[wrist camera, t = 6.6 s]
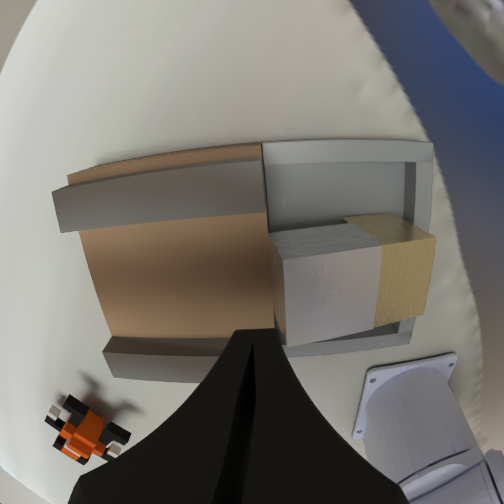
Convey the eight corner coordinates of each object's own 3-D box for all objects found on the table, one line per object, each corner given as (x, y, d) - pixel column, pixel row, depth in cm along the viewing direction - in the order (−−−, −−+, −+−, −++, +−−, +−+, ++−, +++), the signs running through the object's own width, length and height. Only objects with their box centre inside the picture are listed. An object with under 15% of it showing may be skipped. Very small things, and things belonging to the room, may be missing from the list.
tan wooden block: (339, 287, 17) (385, 278, 17) (371, 328, 13) (423, 314, 13) (341, 217, 15) (391, 212, 15) (380, 245, 12) (436, 237, 12)
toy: (132, 466, 18) (88, 490, 23) (150, 413, 24) (102, 454, 29) (43, 412, 17) (28, 453, 22) (74, 363, 22) (48, 419, 27)
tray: (399, 325, 19) (409, 343, 17) (276, 337, 20) (277, 358, 18) (415, 140, 14) (433, 143, 13) (262, 141, 15) (262, 143, 13)
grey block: (347, 296, 16) (373, 329, 13) (273, 309, 15) (286, 347, 13) (351, 222, 14) (382, 245, 11) (267, 233, 14) (283, 259, 11)
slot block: (276, 337, 20) (277, 388, 15) (139, 339, 20) (116, 383, 16) (261, 141, 15) (260, 147, 11) (95, 166, 16) (49, 181, 12)
